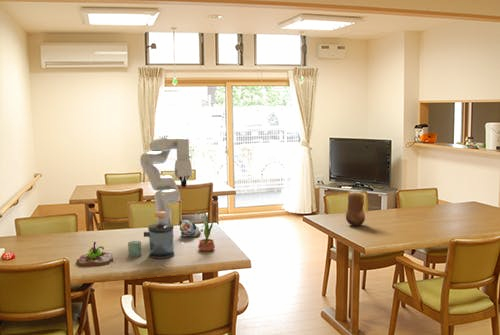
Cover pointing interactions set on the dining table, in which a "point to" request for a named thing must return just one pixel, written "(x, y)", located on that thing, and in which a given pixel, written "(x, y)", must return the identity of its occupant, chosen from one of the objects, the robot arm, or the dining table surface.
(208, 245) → the potted flower
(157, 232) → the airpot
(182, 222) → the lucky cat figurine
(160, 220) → the push button
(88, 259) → the plant
